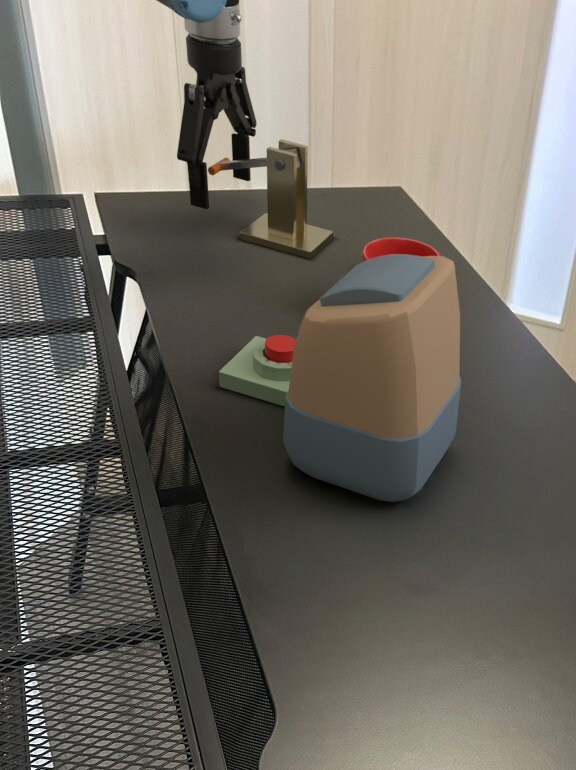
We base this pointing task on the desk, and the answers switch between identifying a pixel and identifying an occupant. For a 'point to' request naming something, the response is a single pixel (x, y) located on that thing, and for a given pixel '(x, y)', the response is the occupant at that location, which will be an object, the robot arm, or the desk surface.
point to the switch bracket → (287, 206)
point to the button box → (256, 374)
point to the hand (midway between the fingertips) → (221, 192)
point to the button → (279, 348)
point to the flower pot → (397, 248)
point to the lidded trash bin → (377, 377)
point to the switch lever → (243, 163)
